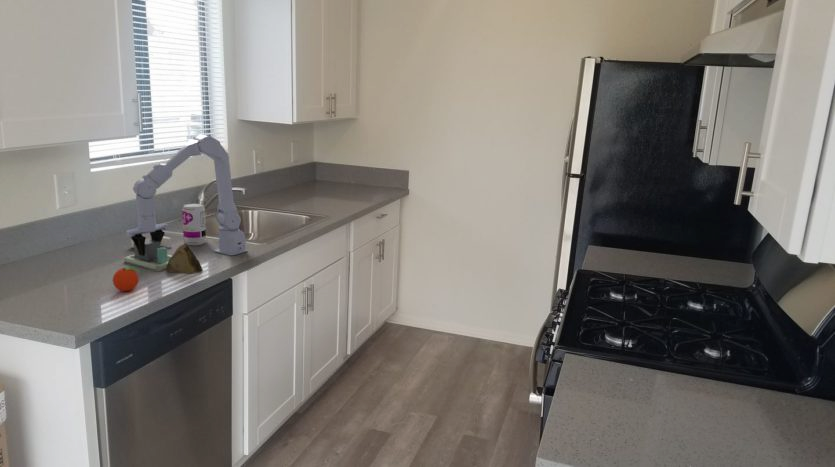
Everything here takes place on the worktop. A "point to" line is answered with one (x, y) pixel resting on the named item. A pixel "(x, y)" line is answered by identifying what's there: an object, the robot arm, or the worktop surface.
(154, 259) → the toner caddy
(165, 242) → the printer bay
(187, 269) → the rock
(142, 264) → the tray
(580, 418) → the worktop surface
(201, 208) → the supplement can
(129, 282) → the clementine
